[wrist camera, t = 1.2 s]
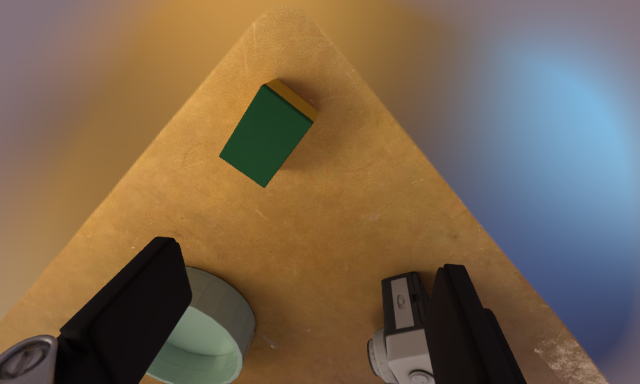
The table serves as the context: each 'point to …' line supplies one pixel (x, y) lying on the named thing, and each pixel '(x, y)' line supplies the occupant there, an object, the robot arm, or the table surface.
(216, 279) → the bowl
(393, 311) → the camera
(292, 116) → the sponge
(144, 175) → the table surface
